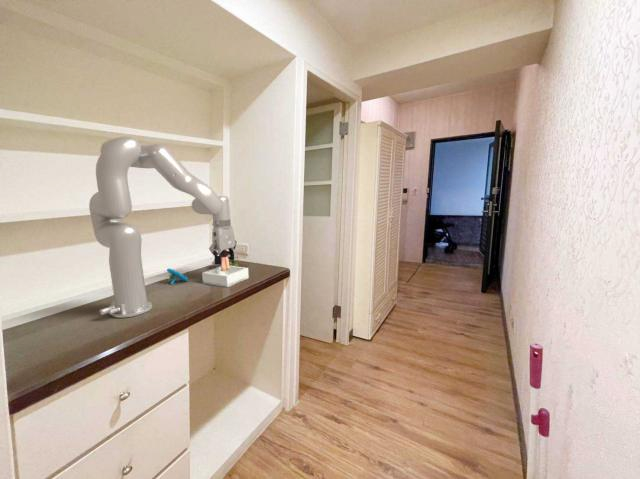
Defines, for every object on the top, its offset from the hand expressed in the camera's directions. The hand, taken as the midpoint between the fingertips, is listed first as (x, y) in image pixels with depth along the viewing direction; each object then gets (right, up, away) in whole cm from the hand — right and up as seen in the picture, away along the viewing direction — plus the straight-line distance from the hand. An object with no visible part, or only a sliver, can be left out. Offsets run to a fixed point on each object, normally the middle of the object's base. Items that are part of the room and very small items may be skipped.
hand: (225, 261), depth 139 cm
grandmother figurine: (0, -4, +1) cm, 4 cm away
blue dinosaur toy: (-22, -10, 0) cm, 24 cm away
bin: (0, -9, +2) cm, 9 cm away
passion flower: (-6, -6, +22) cm, 24 cm away
